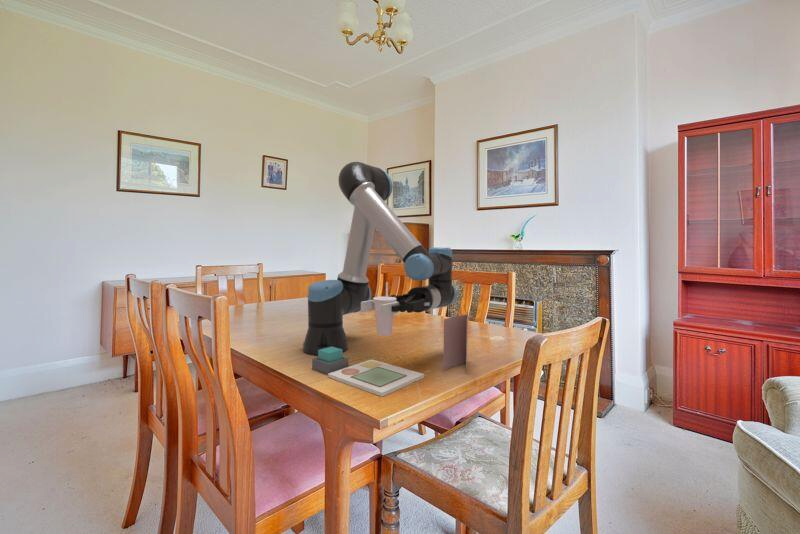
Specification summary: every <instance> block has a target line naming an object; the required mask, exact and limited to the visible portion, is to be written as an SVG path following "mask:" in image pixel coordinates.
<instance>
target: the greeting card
mask: <svg viewBox="0 0 800 534" xmlns="http://www.w3.org/2000/svg"><path fill="white" fill-rule="evenodd" d="M468 325H469V314H468V313H467V314H463V315H457V316H453V317H447V318H444V319H443V350H442V351H443V355H442V358H443V359H442V360H443V361H442V363H443V365H442V366H443V368H442V369H443V371H446V370H447V369H451V368H454V367H456V366H460V365H462V364H465V369H467V366H468V337H469V336H468V333H469V331H468V329H469V327H468Z"/></svg>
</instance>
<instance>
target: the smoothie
mask: <svg viewBox="0 0 800 534" xmlns="http://www.w3.org/2000/svg"><path fill="white" fill-rule="evenodd" d="M385 296H386V297H384V296H375V297H372V298H373V302H374V307H375V310H374V313H375V314H374V315H375V322H376V331H377V332H376V333H377V335H378V336H390V335H392V332H393V324H394V317H395V313H393V314H389V315H384V316H381V305H382V304H388V303H393V302H397V301H396V300H397V299H396V298H395V297H388V296H389V282H388V281H386V282H385Z"/></svg>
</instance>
